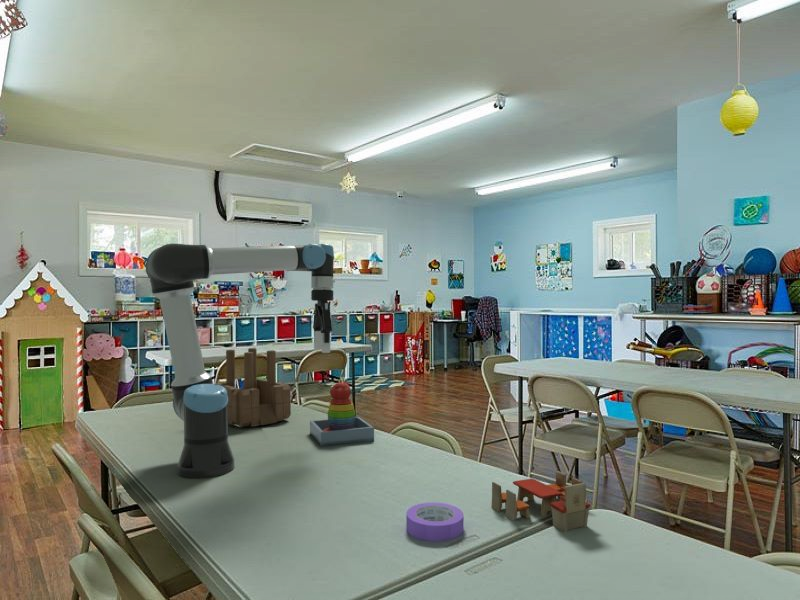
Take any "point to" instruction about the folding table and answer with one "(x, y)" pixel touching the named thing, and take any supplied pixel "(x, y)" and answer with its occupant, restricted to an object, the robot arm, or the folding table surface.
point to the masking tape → (434, 521)
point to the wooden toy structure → (255, 392)
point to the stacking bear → (340, 408)
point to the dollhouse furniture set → (546, 501)
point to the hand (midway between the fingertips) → (321, 351)
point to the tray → (341, 433)
